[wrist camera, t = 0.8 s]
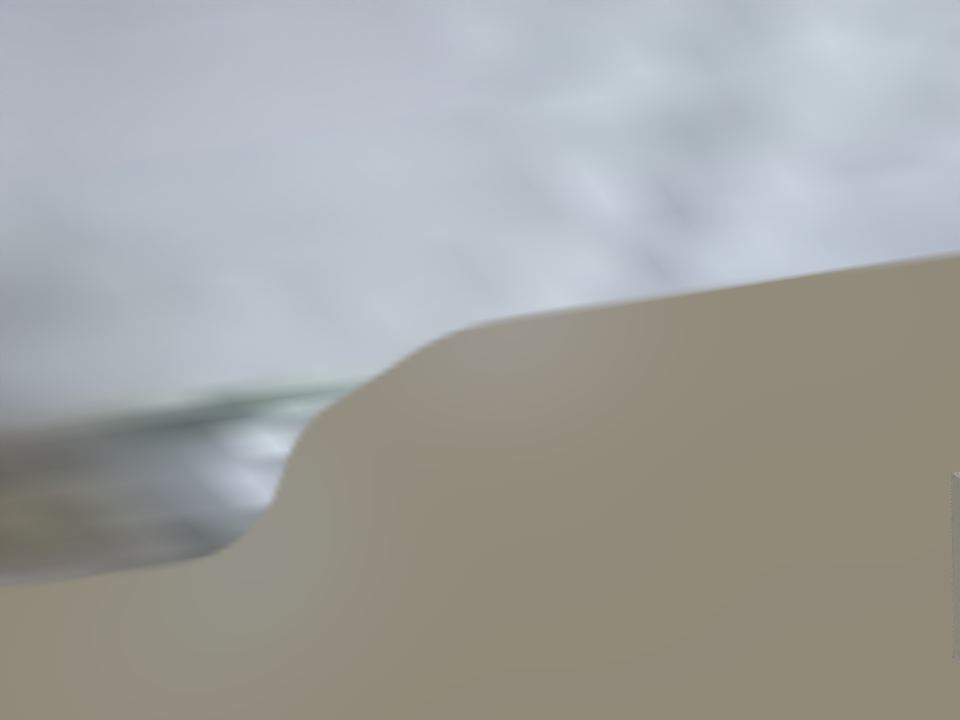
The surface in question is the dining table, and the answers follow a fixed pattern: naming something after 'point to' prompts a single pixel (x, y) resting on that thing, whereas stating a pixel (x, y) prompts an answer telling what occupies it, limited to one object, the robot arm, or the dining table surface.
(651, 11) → the dining table surface
